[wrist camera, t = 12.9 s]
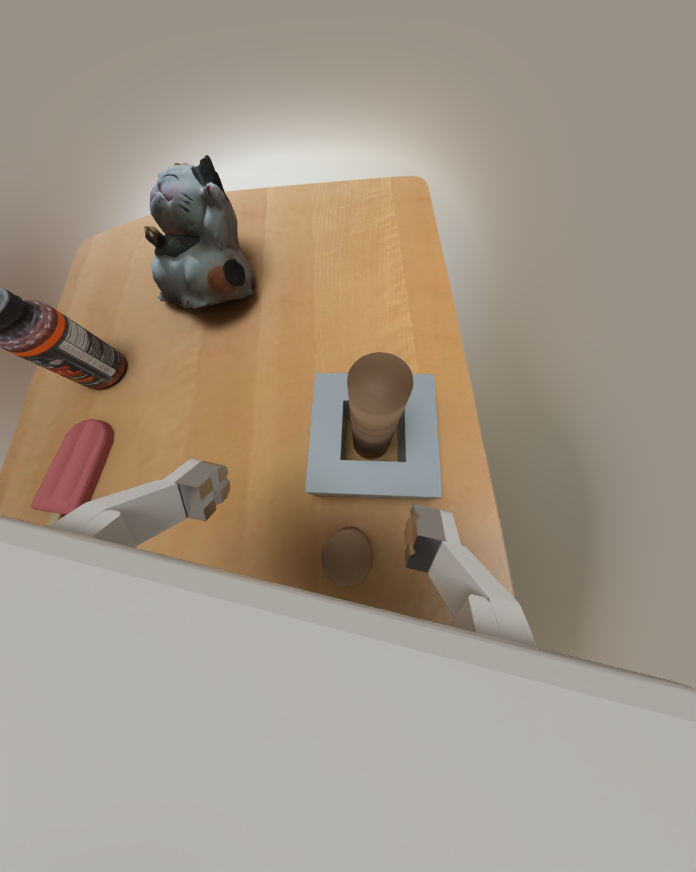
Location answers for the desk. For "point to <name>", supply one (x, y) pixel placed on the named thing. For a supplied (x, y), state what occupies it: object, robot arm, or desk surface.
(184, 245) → the lucky cat figurine
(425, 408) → the socket block
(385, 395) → the long pin
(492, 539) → the desk surface
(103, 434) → the popsicle
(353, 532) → the short pin
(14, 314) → the supplement bottle
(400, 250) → the desk surface
